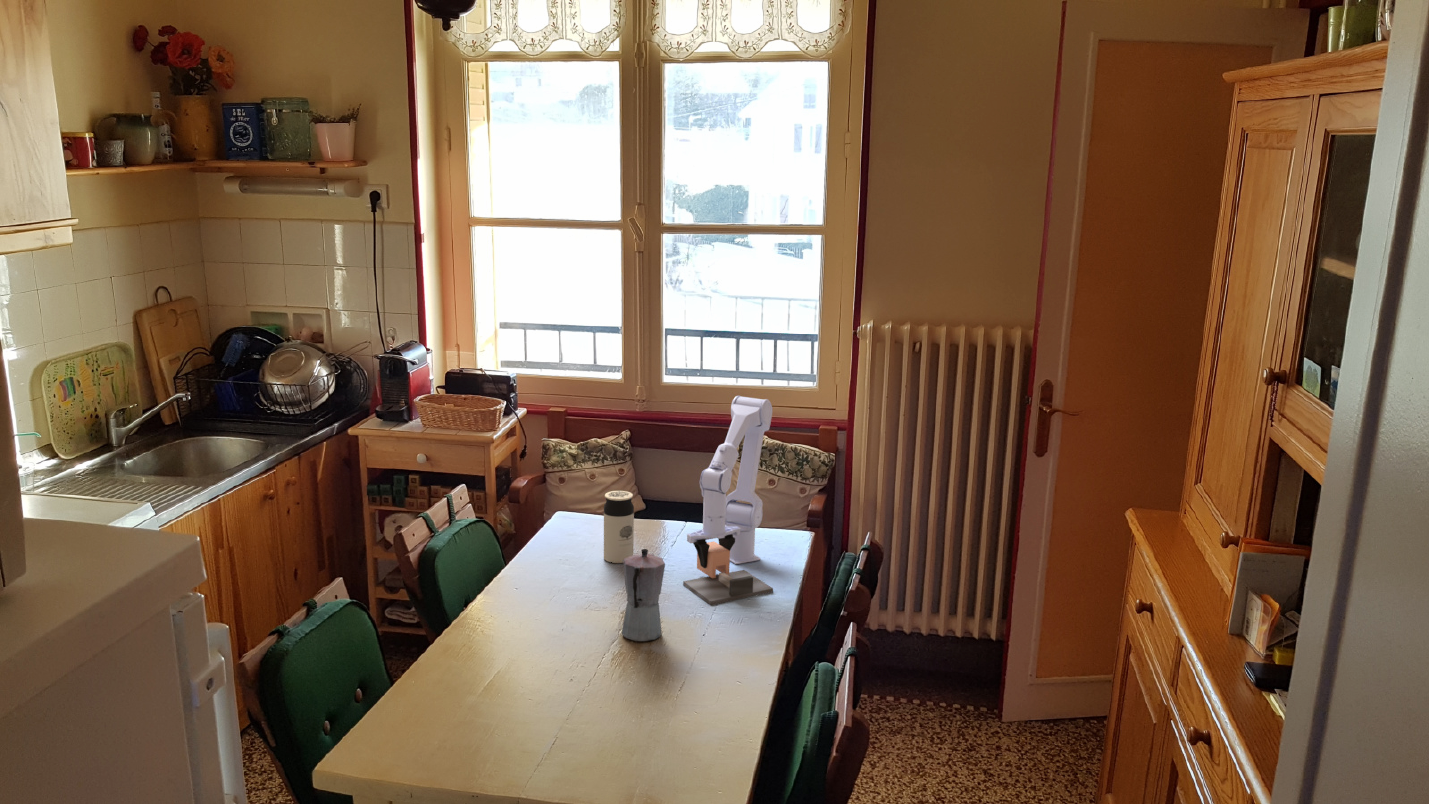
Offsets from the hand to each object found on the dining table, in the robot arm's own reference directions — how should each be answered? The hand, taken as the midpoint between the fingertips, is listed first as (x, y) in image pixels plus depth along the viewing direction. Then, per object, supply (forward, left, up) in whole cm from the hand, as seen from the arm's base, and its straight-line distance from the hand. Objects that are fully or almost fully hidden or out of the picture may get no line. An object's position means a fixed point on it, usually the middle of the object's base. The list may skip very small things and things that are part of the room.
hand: (713, 565), depth 268 cm
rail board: (+8, 0, -4) cm, 8 cm away
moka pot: (+23, -31, -4) cm, 39 cm away
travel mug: (-23, -16, -4) cm, 29 cm away
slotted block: (0, 0, -2) cm, 2 cm away
